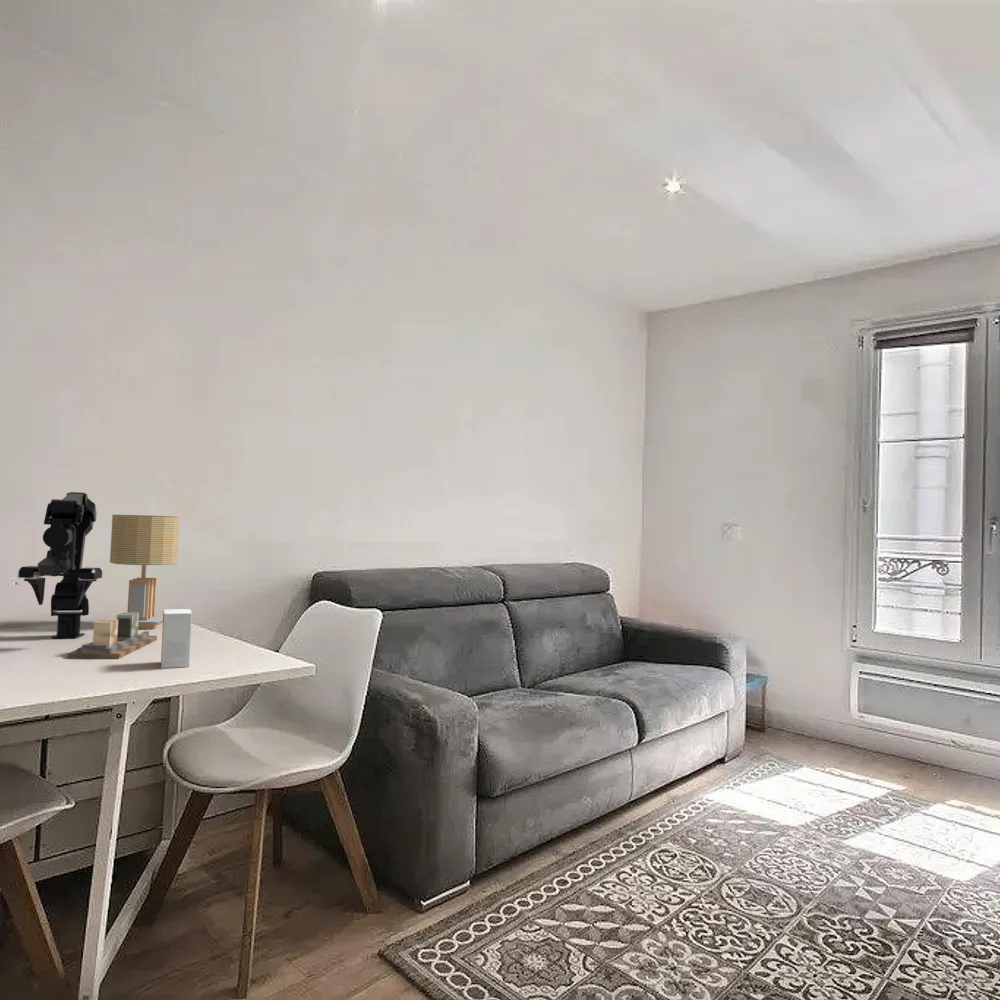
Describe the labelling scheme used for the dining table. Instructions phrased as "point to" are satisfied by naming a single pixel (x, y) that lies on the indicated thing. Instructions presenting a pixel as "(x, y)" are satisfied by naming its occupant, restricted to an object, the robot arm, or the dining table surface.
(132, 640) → the rail base
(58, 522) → the robot arm
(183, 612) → the small box
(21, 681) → the dining table surface
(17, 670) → the dining table surface
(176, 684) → the dining table surface
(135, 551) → the desk lamp
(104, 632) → the tan wooden block
